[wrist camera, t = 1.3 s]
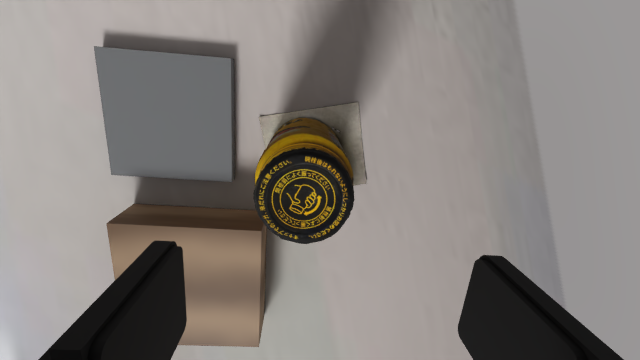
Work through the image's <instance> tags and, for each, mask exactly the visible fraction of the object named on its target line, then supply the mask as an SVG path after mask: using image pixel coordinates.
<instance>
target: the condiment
mask: <svg viewBox="0 0 640 360" xmlns="http://www.w3.org/2000/svg"><path fill="white" fill-rule="evenodd" d="M259 120H260V125H261V130H262V134H263V139H264V144H265V150H264V153H263V154H262V156H261V158H260V160H259V162H258V165H257V169H256V172H255V190H254V201H255V208H256V210H257V213H258V215H259V217H260V219H261V220H262V221H263V223H264V224H265V226H266V227H267V228H268V229H269V230H271V231H272V232H273V233H274V234H276V235H278V236H279V237H280V238H281V239H284V240H288V241H292V242H296V243H301V244H308V243H312V242H318V241H322V240H325V239H327V238H329V237H331V236H332V235H334V234H335V233H336V232H338V230H339V229H340V228H341V227H342V225H343V224H344V223H345V221H346V220H347V219H348V218H349V215H350V212H351V210H352V208H353V202H354V190H353V185H360V184H366V175H365V166H364V156H363V147H362V138H361V126H360V117H359V105H358V102H356V103H349V104H342V105H336V106H329V107H322V108H315V109H308V110H301V111H295V112H288V113H281V114H275V115H268V116H262V117H259ZM332 127H334V128H335V130H333V129H332ZM336 129H337V130H339V131H340V132H339V133H338V132H337V131H336Z"/></svg>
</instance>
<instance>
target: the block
mask: <svg viewBox="0 0 640 360" xmlns="http://www.w3.org/2000/svg"><path fill="white" fill-rule="evenodd" d="M107 230H108V237H109V243H110V250H111V257H112V263H113V270H114V277H115V280H116V279H117V278H118V277H119V276H120V275H121V274H122V273H123V272H124V271H125V270H126V269H127V268H128V267H129V266H130V265H131V264H132V263H133V262H134V261H135V260H136V259H137V258H138V256H139V255H140V254H141V253H142V252H143V251H144V250H145V249H146V248H147V247H148V246H149V245H150V244H151V243H152V242H153V241H175V242H176V244H177V246H181V247H182V249H183V263H184V280H185V297H186V314H187V322H186V327H185V331H184V333H183V335H182V337H181V339H180V341H179V343H178V345H199V346H243V347H259V343H260V337H261V331H262V325H263V319H264V306H265V272H266V238H267V227H266V226H265V224H264V223H263V221H262V220H261V219H260V217H259V215H258V213H257V210H239V209H221V208H202V207H184V206H165V205H147V204H133V205H132V206H130V207H129V208H127V209H126V210H125V211H123V212H122V213H120V214H119V215H118V216H116V217H115V218H113V219H112V220H111V221H109V222H108V223H107Z"/></svg>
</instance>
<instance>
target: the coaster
mask: <svg viewBox="0 0 640 360" xmlns="http://www.w3.org/2000/svg"><path fill="white" fill-rule="evenodd" d="M94 51H95V58H96V65H97V73H98V80H99V87H100V95H101V102H102V109H103V117H104V124H105V131H106V139H107V146H108V153H109V161H110V168H111V175H123V176H140V177H156V178H173V179H190V180H206V181H223V182H232V181H233V180H234V179H235V177H234V59H231V58H222V57H210V56H199V55H188V54H176V53H165V52H154V51H142V50H131V49H120V48H108V47H97V46H94Z"/></svg>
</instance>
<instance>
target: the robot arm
mask: <svg viewBox="0 0 640 360" xmlns="http://www.w3.org/2000/svg"><path fill="white" fill-rule="evenodd" d="M186 322H187V314H186V297H185V280H184V263H183V249H182V247H181V246H177V244H176V242H175V241H153V242H152V243H151V244H150V245H149V246H148V247H147V248H146V249H145V250H144V251H143V252H142V253H141V254H140V255H139V256H138V258H137V259H136V260H135V261H134V262H133V263H132V264H131V265H130V266H129V267H128V268H127V269H126V270H125V271H124V272H123V273H122V274H121V275H120V276H119V277H118V278H117V279H116V280H115V281H114V282H113V283H112V284H111V285H110V286H109V287H108V288H107V289H106V290H105V292H104V293H103V294H102V295H101V296H100V297H99V298H98V299H97V300H96V301H95V302H94V303H93V304H92V305H91V306H90V307H89V308H88V309H87V310H86V311H85V312H84V313H83V314H82V315H81V316H80V317H79V318H78V319H77V320H76V321H75V322H74V323H73V324H72V326H71V327H70V328H69V329H68V330H67V331H66V332H65V333H64V334H63V335H62V336H61V337H60V338H59V339H58V340H57V341H56V342H55V343H54V344H53V345H52V346H51V347H50V348H49V349H48V350H47V351H46V352H45V353H44V355H43V356H42V357H41V358H40V359H39V360H171V358H172V355H173V353H174V351H175V349H176V347H177V345H178V343H179V341H180V339H181V337H182V335H183V333H184V331H185V327H186ZM458 333H459V337H460V339H461V340H462V342H463V344H464V345H465V347H466V348H467V350H468V352H469V353H470V355H471V356H472V358H473V360H623V359H622V358H621V357H620V356H619V355H618V354H616V353H615V352H614V351H613V350H612V349H611V348H609V347H608V346H607V345H606V344H605V343H603V342H602V341H601V340H600V339H599V338H598V337H596V336H595V335H594V334H593V333H592V332H591V331H590V330H588V329H587V328H586V327H585V326H584V325H582V324H581V323H580V322H579V321H578V320H577V319H575V318H574V317H573V316H572V315H571V314H570V313H568V312H567V311H566V310H565V309H564V308H563V307H561V306H560V305H559V304H558V303H557V302H556V301H554V300H553V299H552V298H551V297H550V296H549V295H547V294H546V293H545V292H544V291H543V290H542V289H540V288H539V287H538V286H537V285H536V284H535V283H533V282H532V281H531V280H530V279H529V278H528V277H526V276H525V275H524V274H523V273H522V272H521V271H519V270H518V269H517V268H516V267H515V266H513V265H512V264H511V263H510V262H509V261H508V260H506V259H505V258H504V257H502V256H491V255H483V256H481V257H480V258H479V259H478V260H476V261H475V263H474V267H473V271H472V274H471V278H470V282H469V286H468V290H467V294H466V298H465V301H464V305H463V309H462V313H461V317H460V321H459V324H458Z"/></svg>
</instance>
